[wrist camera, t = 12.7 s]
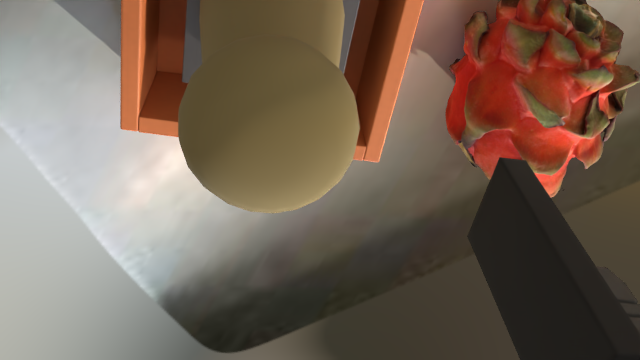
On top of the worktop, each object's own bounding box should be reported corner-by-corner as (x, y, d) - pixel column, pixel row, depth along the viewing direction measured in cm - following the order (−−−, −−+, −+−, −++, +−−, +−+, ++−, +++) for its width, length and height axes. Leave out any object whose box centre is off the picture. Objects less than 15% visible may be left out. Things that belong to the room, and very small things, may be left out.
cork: (248, -91, 23) (228, 2, 14) (374, -1, 25) (427, 130, 16) (172, 36, 26) (113, 185, 16) (292, 108, 28) (298, 274, 19)
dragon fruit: (520, -69, 30) (502, 121, 38) (401, -2, 27) (409, 191, 35) (695, -27, 25) (632, 183, 33) (576, 63, 22) (538, 273, 30)
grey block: (193, 44, 30) (181, 82, 27) (204, -107, 27) (192, -87, 23) (330, 64, 31) (337, 104, 28) (359, -77, 28) (372, -54, 24)
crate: (143, 77, 32) (120, 130, 27) (149, -185, 25) (121, -175, 21) (364, 109, 34) (379, 163, 29) (424, -129, 27) (454, -108, 23)
